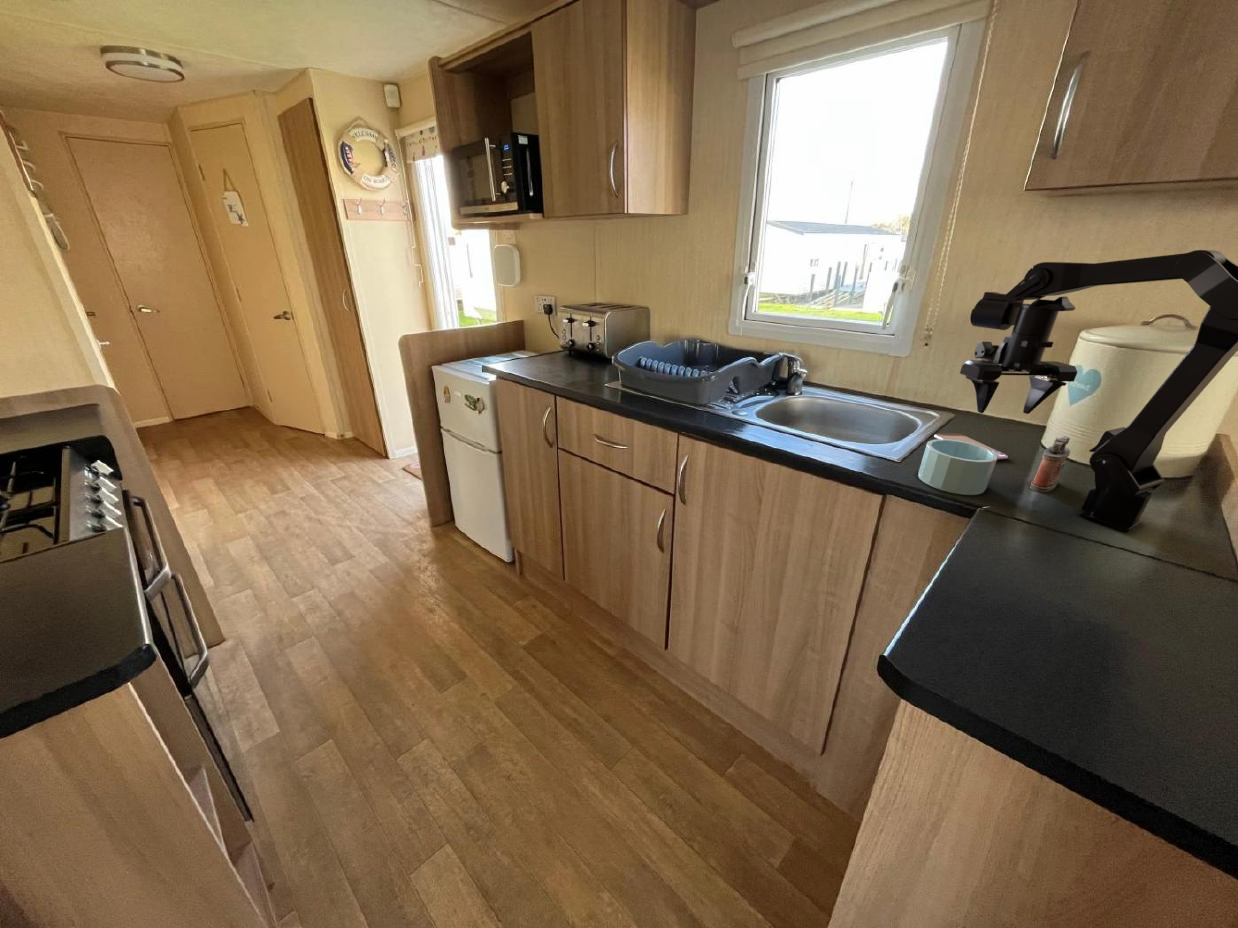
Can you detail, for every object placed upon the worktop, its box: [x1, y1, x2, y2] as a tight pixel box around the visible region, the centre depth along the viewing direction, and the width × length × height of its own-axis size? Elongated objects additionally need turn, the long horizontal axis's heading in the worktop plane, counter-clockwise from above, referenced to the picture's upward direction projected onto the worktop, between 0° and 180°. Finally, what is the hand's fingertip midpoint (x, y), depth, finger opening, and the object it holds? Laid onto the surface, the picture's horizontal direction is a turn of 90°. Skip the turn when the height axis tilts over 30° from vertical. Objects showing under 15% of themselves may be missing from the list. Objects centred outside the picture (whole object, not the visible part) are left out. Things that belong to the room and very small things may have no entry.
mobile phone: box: [933, 432, 1009, 461], centre depth 115 cm, size 8×1×15 cm
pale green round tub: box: [917, 438, 998, 496], centre depth 97 cm, size 12×12×7 cm
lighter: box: [1029, 435, 1072, 493], centre depth 95 cm, size 8×3×10 cm, turn 126°
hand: (1003, 413), depth 98 cm, fingers open, 9 cm apart
